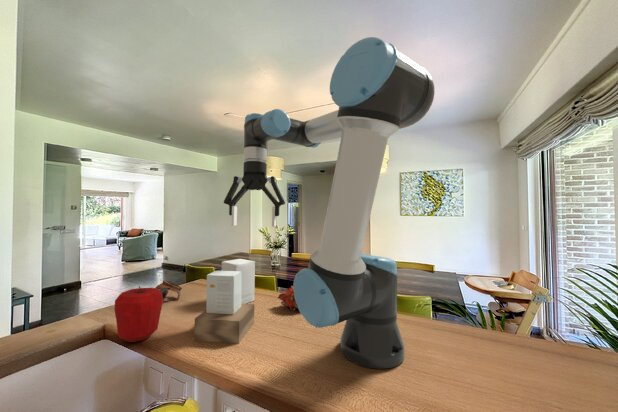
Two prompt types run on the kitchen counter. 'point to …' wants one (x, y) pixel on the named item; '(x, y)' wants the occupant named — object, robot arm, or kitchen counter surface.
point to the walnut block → (224, 325)
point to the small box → (223, 292)
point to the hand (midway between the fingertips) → (253, 226)
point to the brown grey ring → (168, 288)
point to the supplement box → (243, 277)
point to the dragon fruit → (288, 298)
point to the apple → (138, 313)
